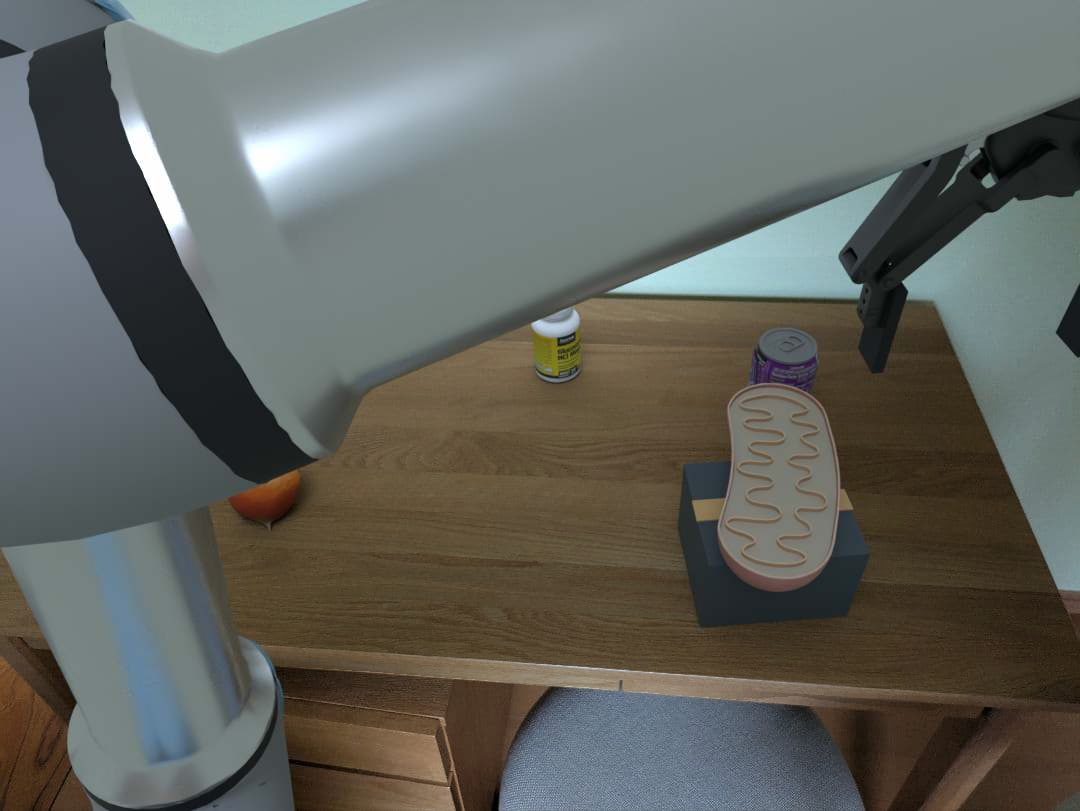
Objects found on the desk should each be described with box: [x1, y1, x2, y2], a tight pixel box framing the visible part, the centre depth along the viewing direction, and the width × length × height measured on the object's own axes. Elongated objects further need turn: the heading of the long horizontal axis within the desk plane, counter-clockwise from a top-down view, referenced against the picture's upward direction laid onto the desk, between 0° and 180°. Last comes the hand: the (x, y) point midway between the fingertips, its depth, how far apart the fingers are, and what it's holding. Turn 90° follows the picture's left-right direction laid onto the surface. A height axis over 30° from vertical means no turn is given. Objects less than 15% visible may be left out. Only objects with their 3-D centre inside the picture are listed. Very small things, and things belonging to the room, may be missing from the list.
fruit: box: [227, 469, 302, 533], centre depth 86 cm, size 8×8×8 cm
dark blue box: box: [677, 460, 871, 628], centre depth 75 cm, size 14×12×10 cm
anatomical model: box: [717, 383, 841, 592], centre depth 69 cm, size 23×10×5 cm, turn 167°
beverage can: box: [747, 327, 820, 396], centre depth 89 cm, size 7×7×12 cm
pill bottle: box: [530, 306, 582, 384], centre depth 99 cm, size 6×6×11 cm
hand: (970, 353), depth 53 cm, fingers open, 13 cm apart
